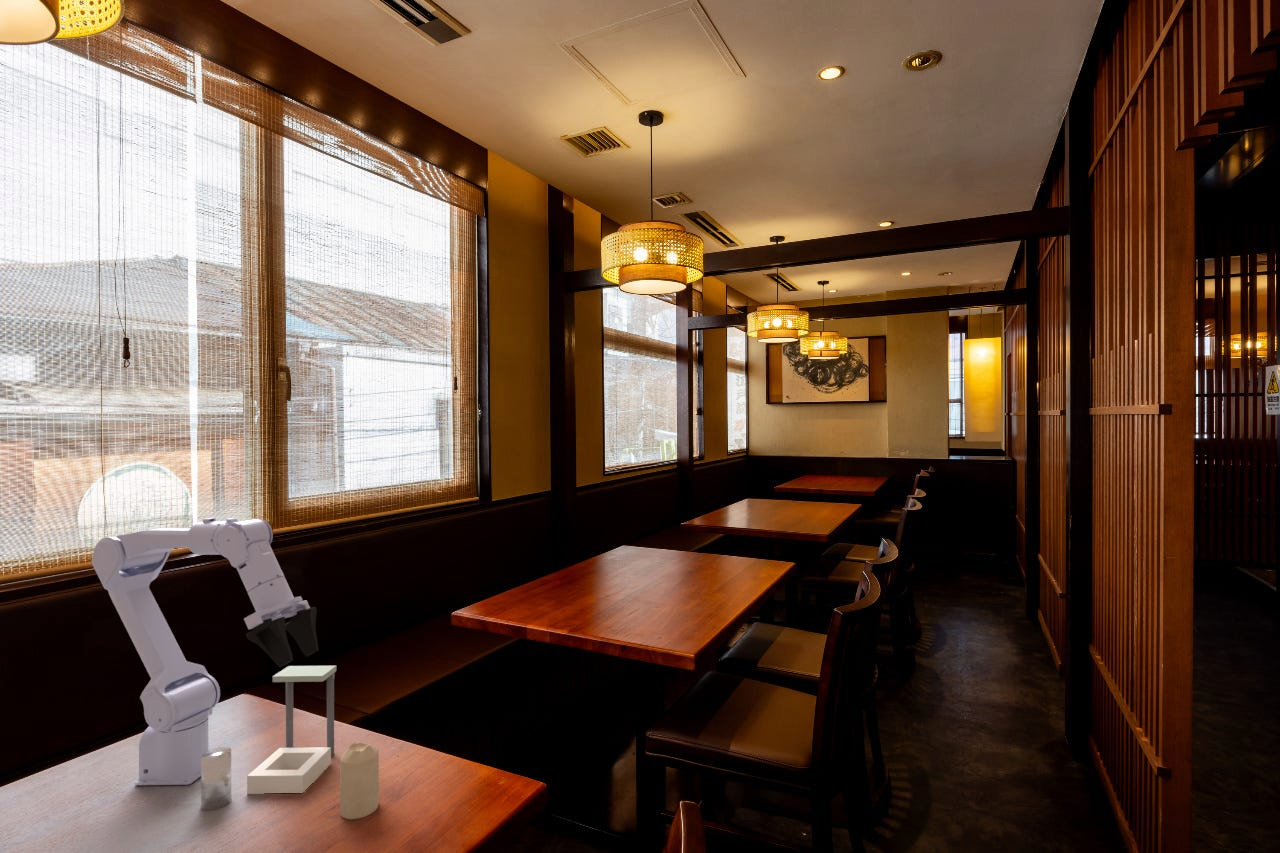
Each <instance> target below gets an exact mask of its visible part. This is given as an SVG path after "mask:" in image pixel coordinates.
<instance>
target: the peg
mask: <svg viewBox="0 0 1280 853" xmlns="http://www.w3.org/2000/svg"><path fill="white" fill-rule="evenodd" d="M200 777H201V778H200V779H201V782H200V786H201V787H200V788H201V789H200V792H201V793H200V794H201V796H200V799H201V800H200V801H201V805H200V806H201V810H202V811H205V812H209V811H210V812H211V811H215V810H219V809H222V808H224V807H225V806H226V807H227V805H229V804H230V803H231V802H232V748H231V747H228V746H221V747H216V748H212V749H210V750H209V749H208V751H207V752H205V753H204V754H203V755H202V756H201V776H200Z"/></svg>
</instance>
